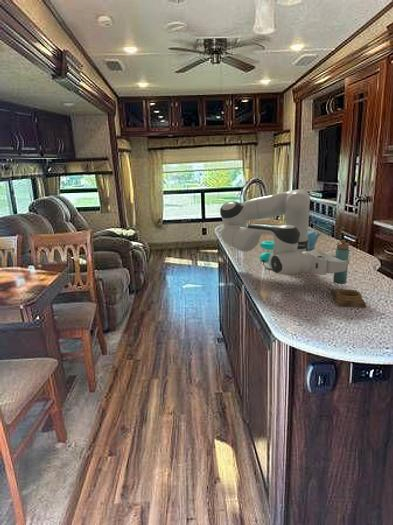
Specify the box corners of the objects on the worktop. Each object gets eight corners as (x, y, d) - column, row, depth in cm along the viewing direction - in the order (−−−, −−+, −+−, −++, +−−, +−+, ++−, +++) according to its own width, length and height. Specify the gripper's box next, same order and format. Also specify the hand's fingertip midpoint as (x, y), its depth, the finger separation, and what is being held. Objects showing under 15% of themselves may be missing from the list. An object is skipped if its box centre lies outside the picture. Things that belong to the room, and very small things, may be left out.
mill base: (337, 306, 130) (338, 298, 129) (331, 292, 144) (331, 285, 143) (365, 307, 128) (366, 299, 127) (356, 293, 142) (356, 286, 141)
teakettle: (292, 257, 202) (293, 231, 198) (280, 249, 220) (281, 226, 216) (323, 255, 204) (325, 230, 201) (308, 248, 222) (310, 225, 219)
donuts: (281, 241, 196) (276, 244, 187) (280, 258, 199) (275, 262, 190) (263, 239, 200) (258, 243, 192) (263, 256, 203) (257, 260, 195)
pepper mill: (334, 283, 144) (337, 240, 140) (332, 280, 149) (335, 238, 144) (347, 284, 143) (351, 241, 139) (344, 280, 148) (348, 238, 143)
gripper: (299, 263, 152) (329, 261, 154) (324, 276, 133) (358, 273, 135) (300, 248, 151) (330, 246, 153) (325, 260, 131) (359, 257, 133)
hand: (343, 259), depth 144 cm, fingers closed on pepper mill, 5 cm apart
